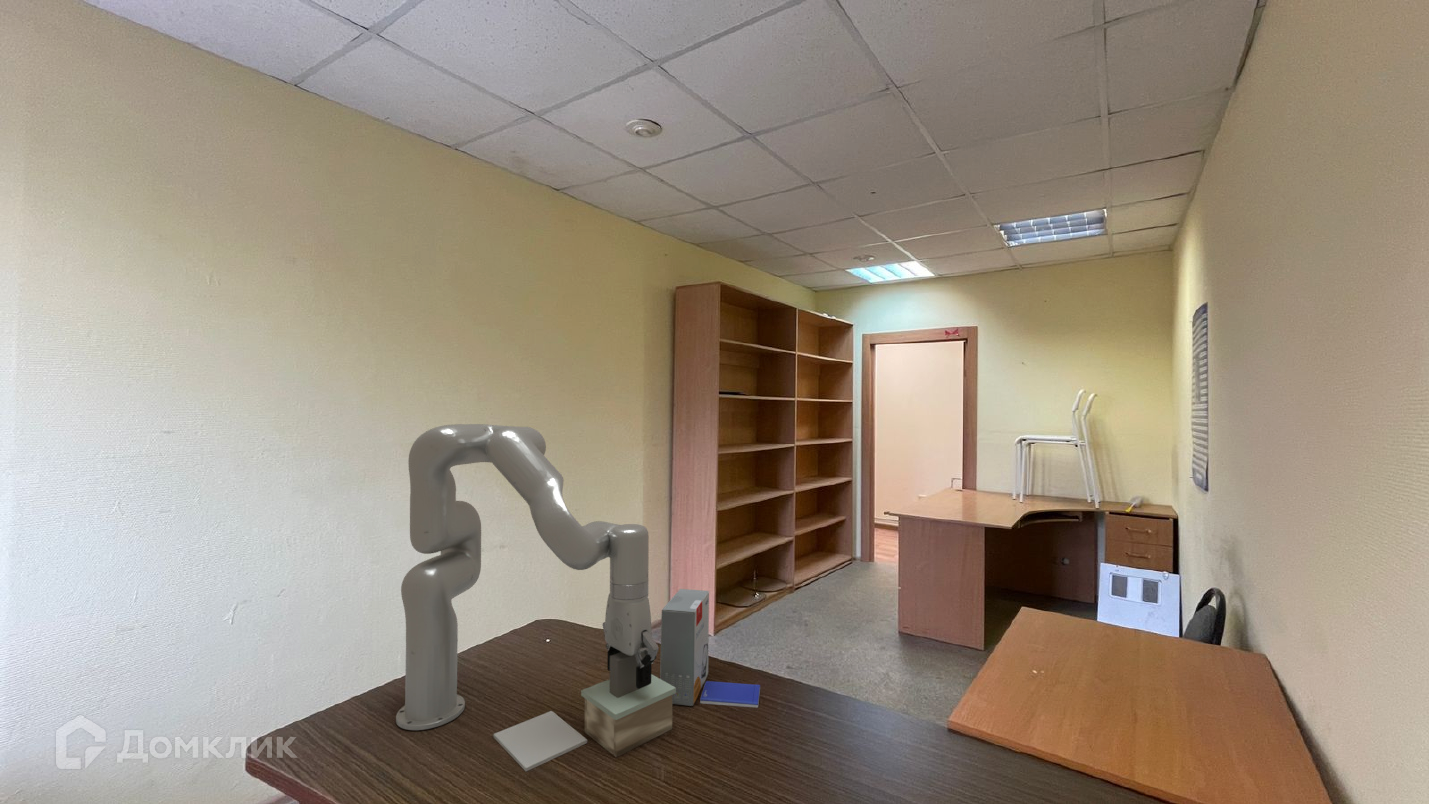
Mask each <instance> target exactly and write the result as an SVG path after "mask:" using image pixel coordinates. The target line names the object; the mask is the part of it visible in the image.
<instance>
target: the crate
mask: <svg viewBox="0 0 1429 804" xmlns="http://www.w3.org/2000/svg"><path fill="white" fill-rule="evenodd" d="M671 730H673V704H672V695H670V696H668V697H666V698H664V699H662V700H659V701H657V702H655V703H653V704H651V705H648V706H646V707H644V708H642V709H640V710H637V711H635V712H633V713H631V714H629V715H626V716H624V717H622V718H620V719H618V720H615V719H613V718H612V717H610V716H609V715H608V714H606V713H605V712H603V711H602V710H601V709H599V708H598V707H596V706H595V705H594V704H592V703H591V702H589V701H588V700H587V699H585V698H584V733H585V734H586V735H588V737H590V738H591V739H593V740H594V741H595V742H597V744H599V745H600V746H601V747H603V748H604V750H606V751H608V753H610V754H611V755H613V757H615V758H619V757H620V756H622V755H624V754H627V753H628V752H630V751H632V750H634V749H636V748H638V747H640V746H642V745H644V744H645V743H648V742H650V741H652V740H654V739H656V738H658V737H660V736H661V735H663V734H666V733H668V732H669V731H671Z"/></svg>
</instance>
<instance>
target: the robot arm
mask: <svg viewBox="0 0 1429 804" xmlns="http://www.w3.org/2000/svg"><path fill="white" fill-rule="evenodd" d="M546 450H547V445H546V440H545V438H544V437H543V435H542V434H541V433H540V431H539V430H537V429H535V428H534V427H529V426H513V425H511V426H509V425H501V424H500V425H497V424H485V423H483V424H480V423H470V424H468V423H467V424H465V423H464V424H462V423H460V424H457V423H456V424H446V425H445V424H443V425H440V426H436V427H434V428H430V429H428V430H426V431H425V432H423V433H422V434H420V435H419V436H418V437H417V438H416V439H415V441H414V442H413V443H412V445H411V447H410V450H409V454H408V462H407V463H408V474H409V483H410V484H409V486H410V487H409V488H410V490H409V491H410V496H409V539H410V543H411V546H412V547H413V549H414V550H415V551H417V552H418V553H421V554H424V555H431V554H435V553H439V552H440V555H436V556H434V557H431V558H429V559H427V560H424V561H421V562H420V563H418V564H416V565H414V566H413V567H412V568H411V569H409V570H408V571H407V573H406V574H405V576H404V577H403V579H402V582H401V587H400V591H401V592H400V593H401V600H402V604H403V609H404V615H405V678H404V679H405V680H404V681H405V683H404V684H405V685H404V687H405V688H404V689H405V690H404V700H405V701H404V705H403V706H402V707H400V709H399V710H398V711H397V713H396V714H395V715H396V716H395V724H396V725H397V726H398V728H401V729H403V730H408V731H424V730H430V729H434V728H437V727H441V726H444V725H446V724H448V723H450V722H452V721H454V720H455V719H456V718H458V717H459V716H460V715H461V714H463V712H464V710H465V708H466V707H465V706H466V701H465V698H464V697H463V696H461V695H460V694H457V693H458V692H457V690H458V639H459V638H458V629H459V628H458V618H457V615H456V611H455V610H454V609H455V608H454V607H453V604H452V601H453V599H455V597H457V596H459V595H462V594H463V593H465V592H466V591H468V590H469V589H471V588H472V587H474V585H476V583H477V582H478V579H479V577H480V574H481V569H482V522H481V521H482V520H481V518H480V515H479V512H478V511H477V509H476V508H475V507H474V506H473V505H472V504H471V503H469V502H467V501H464V500H457V498H456V497H457V495H456V494H457V486H456V480H455V477H454V475H453V473H452V471H451V468H453V467H455V466H460V465H469V464H470V465H471V464H477V463H491V464H492V465H494V467H495V468H496V469H497V471H499V473H500V474H501V475H502V476H503V477H504V478H505V479H506V480H507V482H508V483H509V484H510V485H511V486H512V487H513V488H514V490H515V491H516V492H517V493H518V494H519V496H521V498H522V499H523V500H524V501H525V502H526V503H527V505H528V507H529V510H530V514H531V518H532V520H533V524H534V526H535V528H536V531H537V533H538V534H539V536H540V538H541V539H542V541H543V542H544V543H545V545H546V546H547V547H548V548H549V549H550V550H551V552H552V553H553V554H554V555H555V557H557V558H558V559H559V560H560V561H561V562H562V563H563V564H565V566H567V567H569V568H571V569H573V570H576V571H585V570H588V569H590V568H591V567H593V566H595V565H596V564H597V563H599V562H600V561H603V560H604V559H605V560H606V559H607V558H609V593H608V596H607V600H606V606H605V607H606V608H605V609H606V610H605V619H604V620H605V621H604V622H602V628H603V633H604V635H603V637H604V641H605V642H606V644H605V648H606V650H607V655H606V656H607V659H606V660H607V663H606V664H607V671H608V672H610V656H611V655H614V654H617V653H620V652H623V653H625V654H626V655H629V656H633V655H635V658H636V660H637V663H638V666H637V667H636V687H637V688H638V689H640V688H642V687H645V686H647V685H649V684H651V674H652V664H654V661H655V660H656V659H657V654H658V652H659V650H660V649H659V648H660V647H659V646H658V643H656V641H655V640H654V639H653V637H652V636H653V635H652V634H653V633H652V632H653V630H652V629H653V628H652V613H651V605H650V599H649V562H650V561H649V553H650V552H649V551H650V549H649V546H650V545H649V542H650V541H649V539H650V538H649V530H648V528H647V527H646V526H644V525H642V524H636V523H629V524H617V523H613V522H612V523H611V522H607V521H600V520H597V521H591V522H588V523H587V524H585V525H581V524H580V522H579V521H578V520H577V519H576V518H575V517H574V516H573V514H572V513H571V512H570V510H569V508H568V507H567V506H566V503H565V500H564V497H563V488H564V477H563V475H562V474H561V472H560V471H558V470H557V468H556V467H555V466H554V464H552V463H551V462H550V461H549V460H548V458H547V457H546V456H545V453H546ZM640 647H641V649H639V648H640ZM643 652H644V653H645V657H644V658H643V659H642V657H641V654H640V653H643Z"/></svg>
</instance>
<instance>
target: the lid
mask: <svg viewBox="0 0 1429 804" xmlns="http://www.w3.org/2000/svg"><path fill="white" fill-rule="evenodd" d="M639 649H641V647H640V648H639ZM640 654H641V657H642V659H643V658H644V657H645V653H644V652H643V653H640ZM637 666H638V663H637V660H636V658H635V655H633V656H629V655H626V654H625V653H623V652H620V653H617V654H614V655H611V656H610V671H609V679H607V680H604V681H602V682H599V683H596V684H593V685H591V686H589V687H586V688H583V689H581V690H580V696H581V697H583V698H584V700H585V699H587V700H588V701H589V702H591V703H592V704H594V705H595V706H596V707H598V708H599V709H601V710H602V711H603V712H605V713H606V714H608V715H609V716H610V717H612V718H613V719H615V720H618V719H620V718H622V717H624V716H626V715H629V714H631V713H633V712H635V711H637V710H640V709H642V708H644V707H646V706H648V705H651V704H653V703H655V702H657V701H659V700H662V699H664V698H666V697H668V696H670V695H673V694H675V693H676V688H675V687H674V686H672V685H670V684H668V683H666V682H665V681H663V680H661V679H660V678H659V677H658V676H655V675H654V674H652V673H651V684H649V685H647V686H645V687H642V688H640V689H638V688H637V687H636V667H637Z"/></svg>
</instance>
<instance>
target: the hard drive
mask: <svg viewBox="0 0 1429 804" xmlns="http://www.w3.org/2000/svg"><path fill="white" fill-rule="evenodd" d="M760 692H761V684H752V683H751V684H750V683H738V682H737V683H735V682H725V681H712V680H711V681H710V680H705V682H704V686H703V690H702V692H701V696H700V699H699V701H700V702H699V703H700V704H704V705H706V704H707V705H719V706H731V707H745V708H747V707H748V708H756V709H757V708H759V701H760V696H761V695H760Z"/></svg>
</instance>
